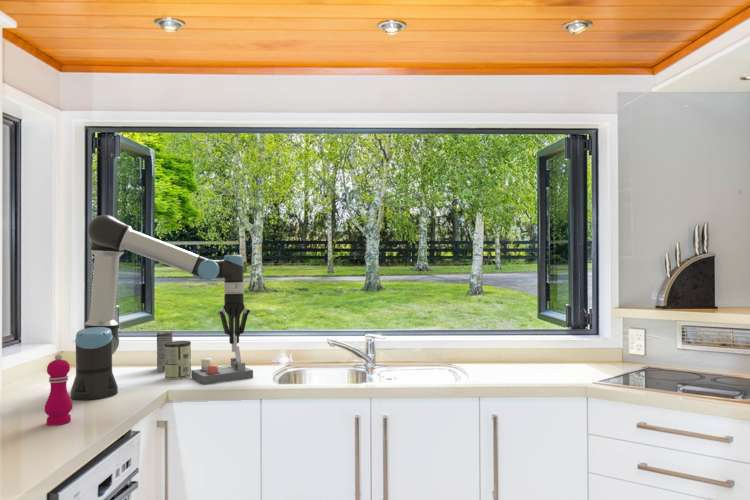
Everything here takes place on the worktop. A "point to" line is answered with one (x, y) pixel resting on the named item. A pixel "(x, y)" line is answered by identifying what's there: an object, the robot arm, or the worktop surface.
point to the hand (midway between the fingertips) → (234, 351)
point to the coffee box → (162, 348)
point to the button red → (212, 369)
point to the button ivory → (205, 364)
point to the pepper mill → (58, 393)
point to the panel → (223, 374)
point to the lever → (238, 356)
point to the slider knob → (233, 361)
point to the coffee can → (177, 360)
